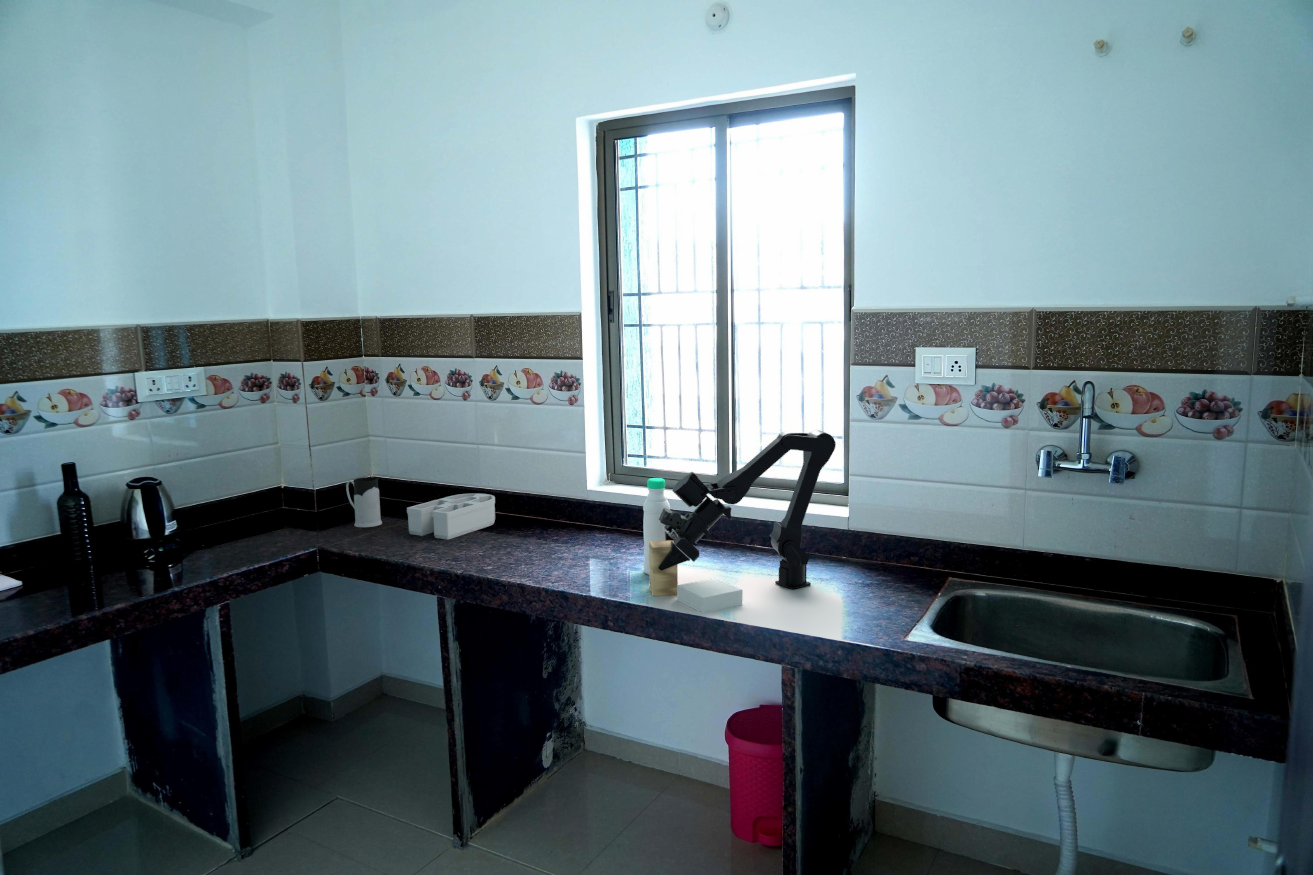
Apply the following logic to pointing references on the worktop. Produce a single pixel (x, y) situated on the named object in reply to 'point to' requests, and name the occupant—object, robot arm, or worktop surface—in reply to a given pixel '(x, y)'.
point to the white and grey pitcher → (366, 502)
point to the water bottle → (653, 516)
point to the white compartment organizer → (452, 515)
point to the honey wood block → (664, 579)
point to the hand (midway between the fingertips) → (657, 565)
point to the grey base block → (709, 595)
